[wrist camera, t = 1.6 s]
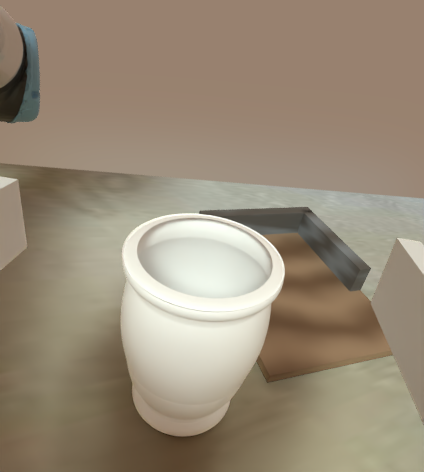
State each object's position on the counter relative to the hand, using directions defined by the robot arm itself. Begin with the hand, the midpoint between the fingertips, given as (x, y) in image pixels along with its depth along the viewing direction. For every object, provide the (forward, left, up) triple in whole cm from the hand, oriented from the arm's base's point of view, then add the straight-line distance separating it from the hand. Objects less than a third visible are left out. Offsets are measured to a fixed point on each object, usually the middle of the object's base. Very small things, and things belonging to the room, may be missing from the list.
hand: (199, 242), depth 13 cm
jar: (-8, +4, -22) cm, 23 cm away
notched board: (-19, +20, -21) cm, 35 cm away
